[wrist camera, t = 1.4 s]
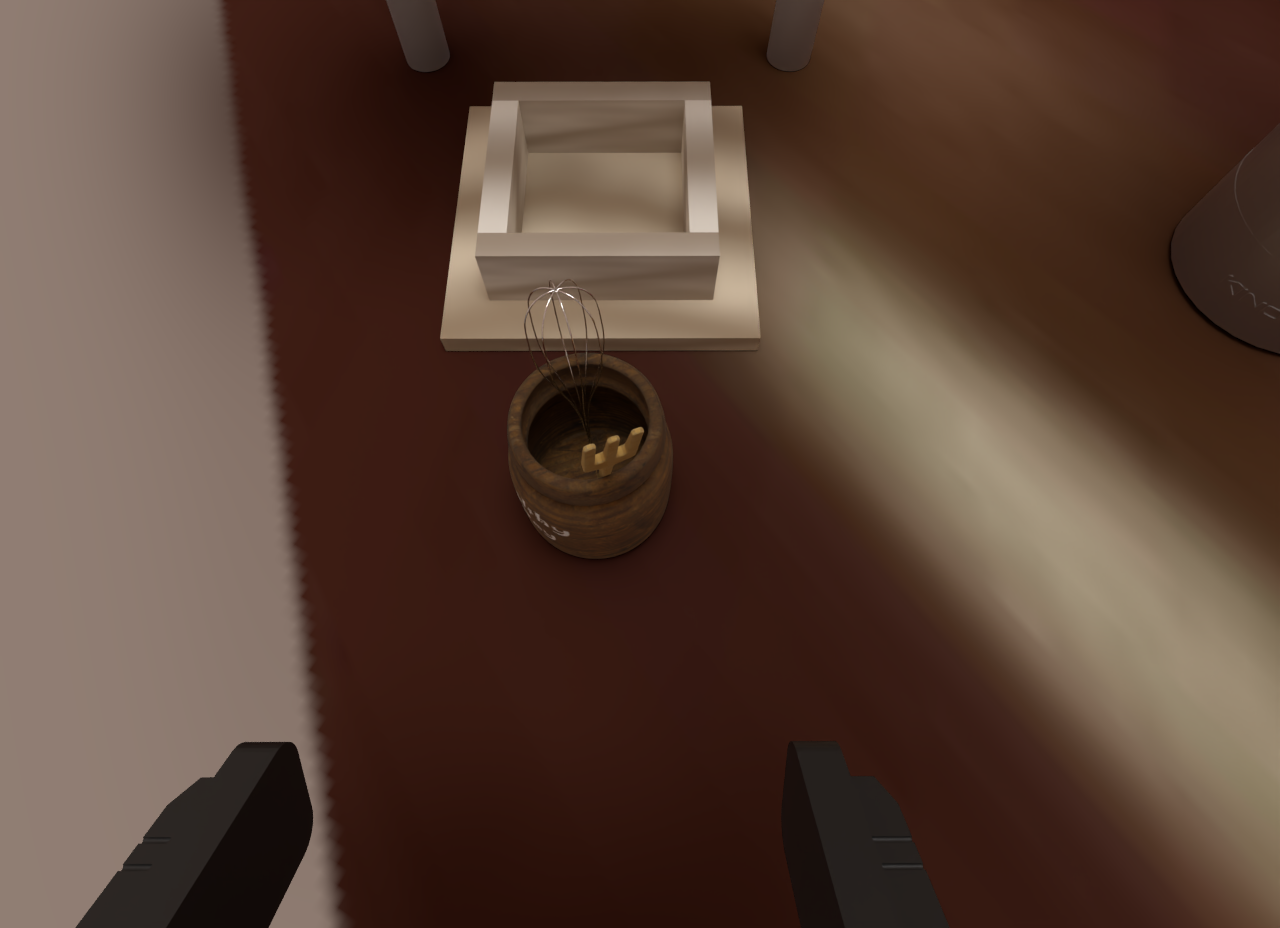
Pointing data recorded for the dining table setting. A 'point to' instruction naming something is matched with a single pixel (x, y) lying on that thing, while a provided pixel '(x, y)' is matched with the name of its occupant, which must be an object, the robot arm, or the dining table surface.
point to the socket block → (603, 221)
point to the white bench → (430, 52)
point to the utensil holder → (589, 449)
